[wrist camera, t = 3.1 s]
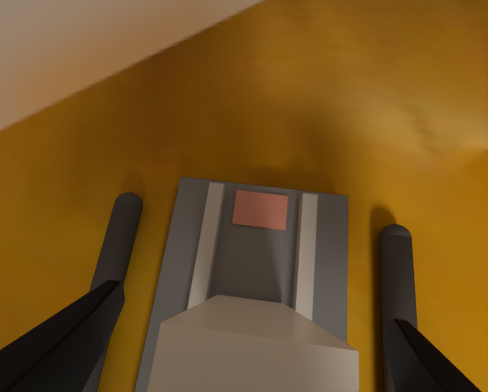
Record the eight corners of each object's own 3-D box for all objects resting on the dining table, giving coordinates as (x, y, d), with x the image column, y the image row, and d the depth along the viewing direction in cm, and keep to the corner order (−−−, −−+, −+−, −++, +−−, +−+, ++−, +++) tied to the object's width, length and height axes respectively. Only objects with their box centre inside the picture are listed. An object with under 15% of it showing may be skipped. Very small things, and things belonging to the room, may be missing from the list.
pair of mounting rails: (415, 515, 12) (440, 548, 11) (54, 454, 13) (29, 476, 12) (401, 228, 16) (416, 223, 15) (125, 195, 17) (113, 187, 16)
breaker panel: (333, 535, 12) (354, 597, 10) (122, 498, 13) (92, 548, 10) (339, 203, 17) (354, 190, 15) (186, 184, 17) (176, 169, 15)
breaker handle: (279, 356, 13) (359, 542, 4) (210, 346, 13) (124, 501, 4) (283, 303, 14) (359, 351, 4) (217, 294, 14) (160, 323, 5)
